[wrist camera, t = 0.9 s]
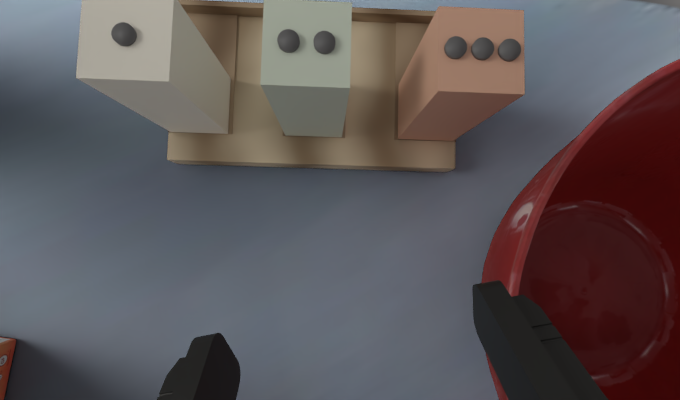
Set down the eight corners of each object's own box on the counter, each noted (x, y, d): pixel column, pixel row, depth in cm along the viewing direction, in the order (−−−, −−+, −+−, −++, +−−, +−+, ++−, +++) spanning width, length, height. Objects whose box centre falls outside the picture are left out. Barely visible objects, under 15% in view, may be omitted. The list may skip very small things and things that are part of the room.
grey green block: (341, 137, 27) (350, 86, 17) (285, 135, 27) (259, 82, 17) (343, 82, 27) (352, -1, 17) (287, 80, 27) (263, -5, 17)
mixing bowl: (373, 407, 28) (428, 633, 13) (463, 86, 30) (605, -57, 15) (694, 501, 28) (1128, 831, 13) (762, 178, 30) (1205, 134, 15)
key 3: (453, 140, 27) (527, 92, 17) (397, 138, 27) (439, 89, 17) (453, 86, 28) (526, 7, 17) (398, 84, 28) (440, 3, 17)
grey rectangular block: (228, 133, 27) (166, 79, 17) (170, 131, 27) (72, 75, 16) (230, 78, 27) (171, -9, 17) (173, 76, 27) (79, -13, 17)
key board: (447, 34, 30) (461, 12, 27) (446, 172, 29) (461, 166, 26) (186, 23, 29) (169, -2, 26) (178, 163, 29) (159, 156, 25)
